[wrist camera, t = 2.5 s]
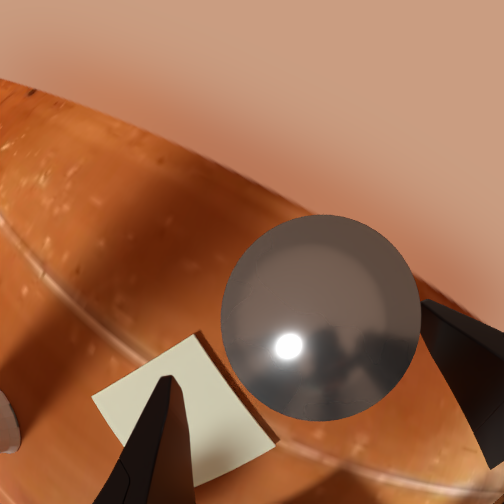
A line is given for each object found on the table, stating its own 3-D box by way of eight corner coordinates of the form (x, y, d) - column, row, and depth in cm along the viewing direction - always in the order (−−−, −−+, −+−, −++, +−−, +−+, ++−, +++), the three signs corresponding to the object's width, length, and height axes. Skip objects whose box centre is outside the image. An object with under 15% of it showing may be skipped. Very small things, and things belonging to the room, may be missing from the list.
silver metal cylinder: (324, 334, 17) (449, 330, 5) (267, 375, 17) (301, 458, 5) (285, 279, 18) (344, 181, 6) (227, 318, 18) (179, 289, 6)
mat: (275, 444, 15) (275, 446, 15) (167, 495, 14) (166, 497, 14) (194, 334, 17) (193, 334, 17) (93, 395, 16) (91, 396, 16)
